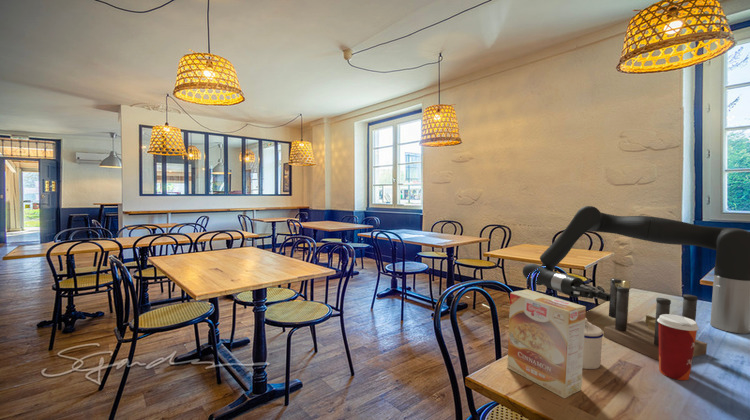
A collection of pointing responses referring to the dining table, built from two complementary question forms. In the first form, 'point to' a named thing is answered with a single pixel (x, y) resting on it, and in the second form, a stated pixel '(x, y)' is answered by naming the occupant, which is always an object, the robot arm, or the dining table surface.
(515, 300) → the coffeecake box
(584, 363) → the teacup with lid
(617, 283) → the grey post frame
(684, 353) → the paper cup
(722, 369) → the dining table surface
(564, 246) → the robot arm
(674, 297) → the dining table surface
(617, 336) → the base with upright pegs
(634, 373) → the dining table surface
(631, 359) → the dining table surface
